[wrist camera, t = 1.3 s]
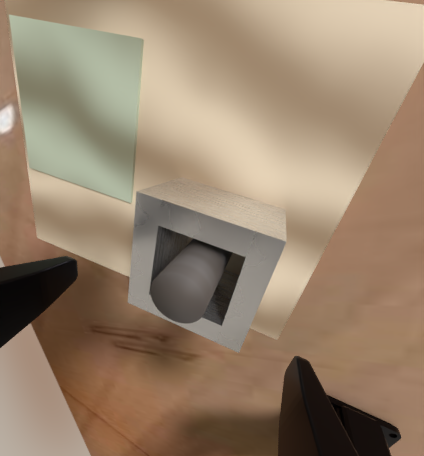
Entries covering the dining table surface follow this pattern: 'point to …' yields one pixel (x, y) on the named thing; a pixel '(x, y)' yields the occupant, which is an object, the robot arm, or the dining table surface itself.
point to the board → (206, 122)
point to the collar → (212, 234)
